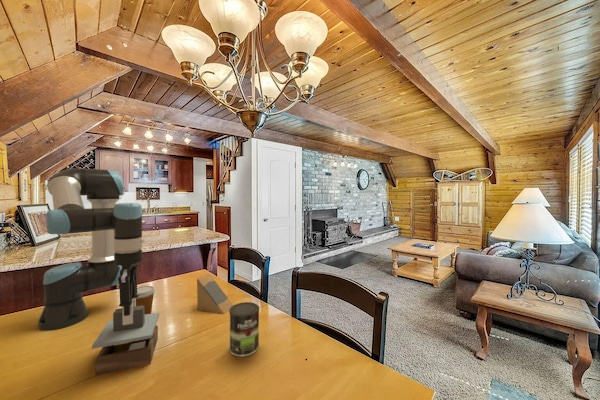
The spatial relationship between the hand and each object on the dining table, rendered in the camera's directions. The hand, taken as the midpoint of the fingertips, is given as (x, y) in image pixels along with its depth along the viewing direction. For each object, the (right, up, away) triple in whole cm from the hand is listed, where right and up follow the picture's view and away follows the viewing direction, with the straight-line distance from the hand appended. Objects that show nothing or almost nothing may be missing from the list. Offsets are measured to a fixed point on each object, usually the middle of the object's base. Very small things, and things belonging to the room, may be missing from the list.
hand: (129, 320), depth 81 cm
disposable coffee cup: (-13, -12, +27) cm, 32 cm away
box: (0, -12, 0) cm, 12 cm away
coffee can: (+36, -13, +6) cm, 39 cm away
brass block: (-3, -11, +2) cm, 12 cm away
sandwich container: (+16, -12, +36) cm, 41 cm away
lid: (0, -3, 0) cm, 3 cm away
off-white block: (+3, -12, -1) cm, 12 cm away
